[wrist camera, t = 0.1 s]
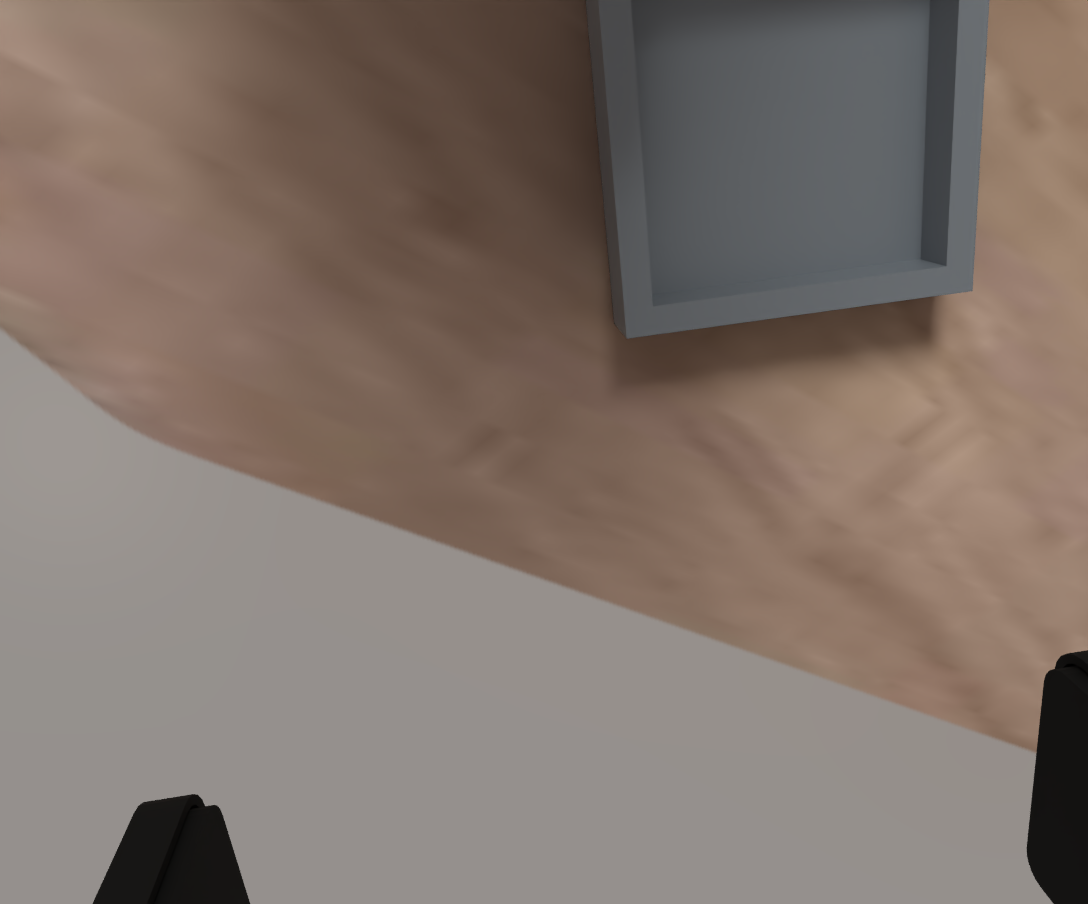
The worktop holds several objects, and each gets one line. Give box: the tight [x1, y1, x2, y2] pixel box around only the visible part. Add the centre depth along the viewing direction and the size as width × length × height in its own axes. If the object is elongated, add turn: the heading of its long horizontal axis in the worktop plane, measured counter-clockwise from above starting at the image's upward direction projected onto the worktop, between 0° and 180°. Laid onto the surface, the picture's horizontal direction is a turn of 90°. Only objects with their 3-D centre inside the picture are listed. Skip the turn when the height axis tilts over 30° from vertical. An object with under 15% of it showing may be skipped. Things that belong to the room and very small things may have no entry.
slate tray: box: [586, 0, 989, 339], centre depth 36 cm, size 15×15×3 cm
